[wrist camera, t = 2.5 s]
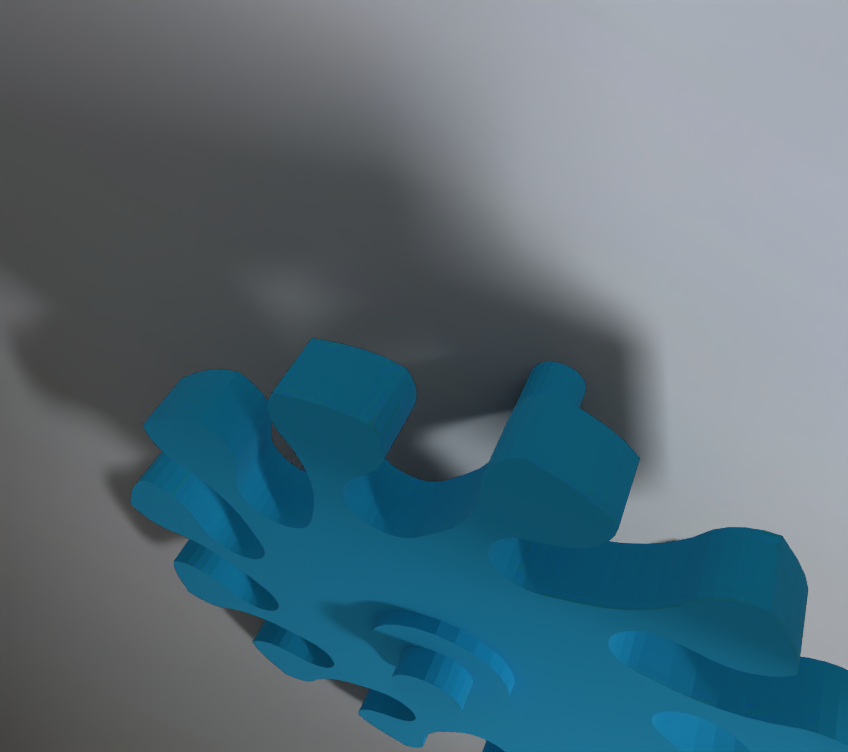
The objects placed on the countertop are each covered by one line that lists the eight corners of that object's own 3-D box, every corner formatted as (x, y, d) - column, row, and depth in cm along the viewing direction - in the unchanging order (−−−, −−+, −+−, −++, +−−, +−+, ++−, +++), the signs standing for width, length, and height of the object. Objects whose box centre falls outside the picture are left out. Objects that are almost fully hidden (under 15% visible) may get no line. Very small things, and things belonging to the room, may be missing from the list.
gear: (16, 521, 13) (378, 296, 5) (222, 287, 16) (610, -43, 9) (475, 853, 16) (1084, 1000, 9) (562, 600, 20) (1045, 551, 12)
